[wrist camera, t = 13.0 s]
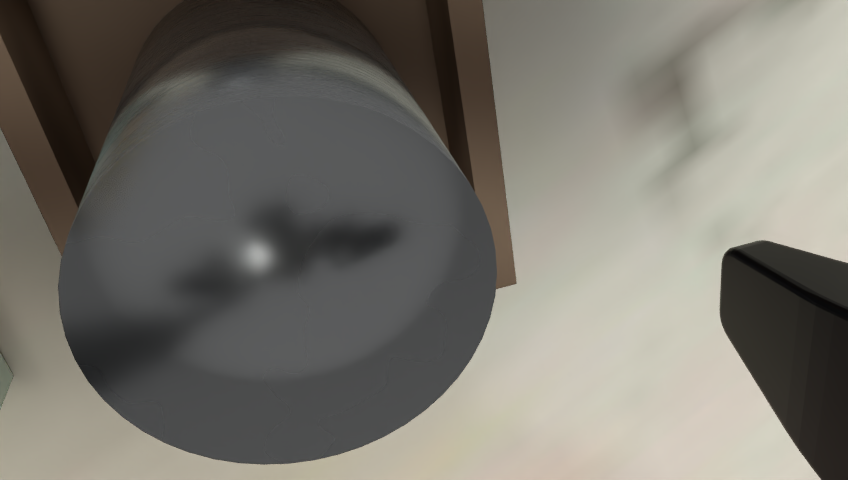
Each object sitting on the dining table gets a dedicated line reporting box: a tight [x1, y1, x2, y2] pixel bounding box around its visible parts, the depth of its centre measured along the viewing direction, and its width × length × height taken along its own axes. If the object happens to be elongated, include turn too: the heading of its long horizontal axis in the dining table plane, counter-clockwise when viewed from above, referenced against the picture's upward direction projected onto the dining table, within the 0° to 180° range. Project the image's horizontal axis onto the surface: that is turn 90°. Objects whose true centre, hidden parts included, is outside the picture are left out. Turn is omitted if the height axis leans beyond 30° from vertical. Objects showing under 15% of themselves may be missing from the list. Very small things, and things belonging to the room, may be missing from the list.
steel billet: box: [58, 0, 497, 464], centre depth 12 cm, size 5×5×7 cm
